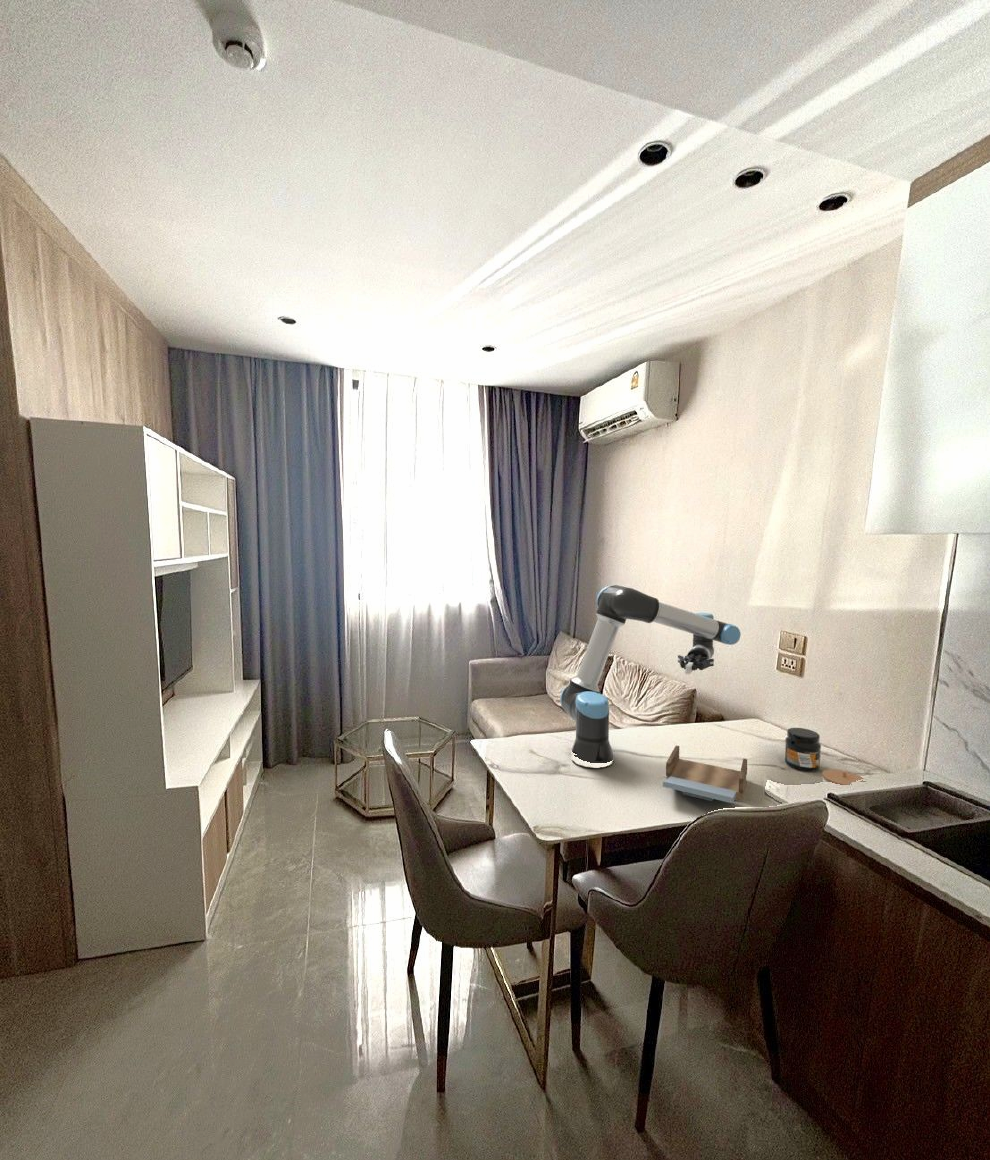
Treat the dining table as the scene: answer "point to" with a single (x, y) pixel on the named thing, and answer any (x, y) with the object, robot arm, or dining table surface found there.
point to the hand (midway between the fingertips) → (687, 670)
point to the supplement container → (802, 749)
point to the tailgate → (700, 789)
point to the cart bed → (707, 773)
